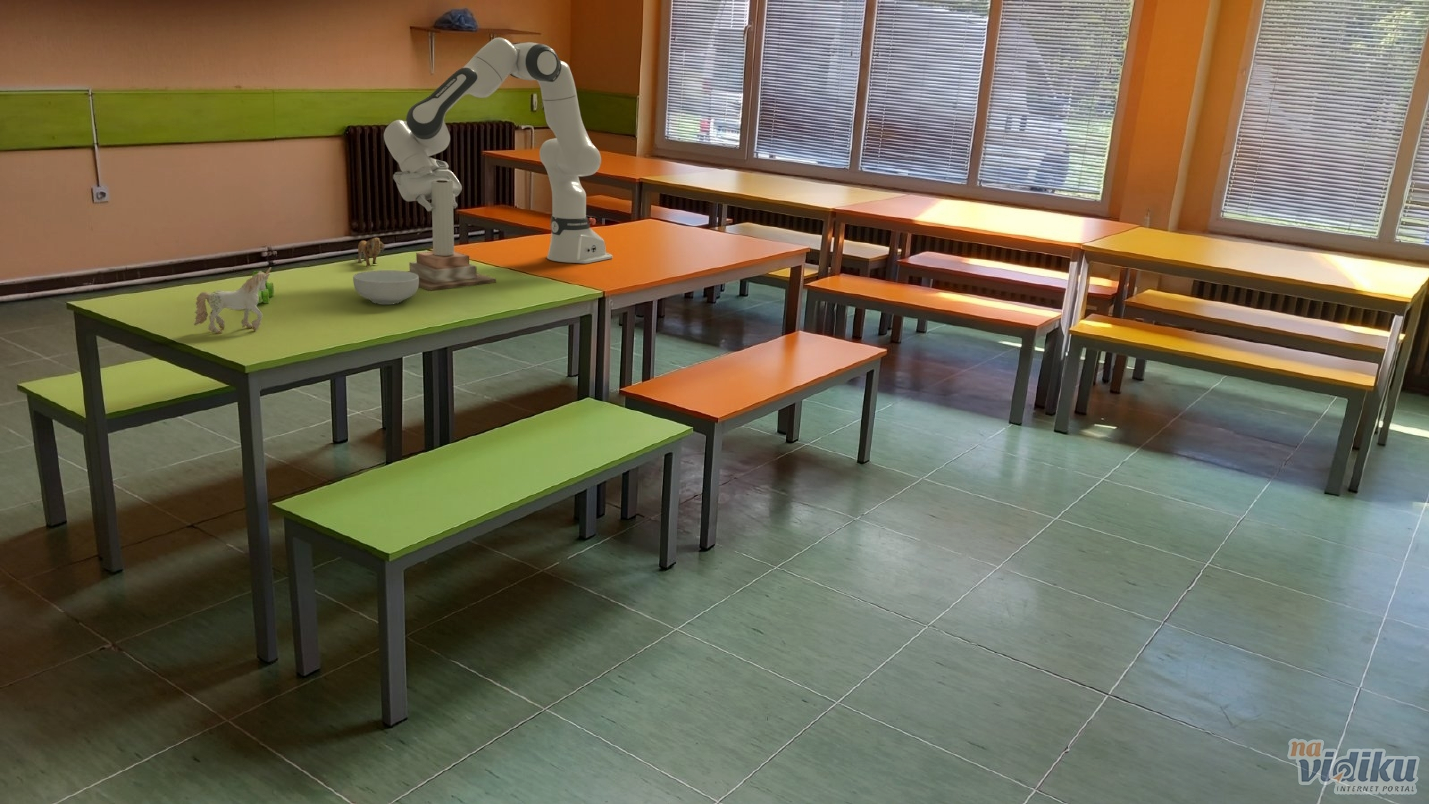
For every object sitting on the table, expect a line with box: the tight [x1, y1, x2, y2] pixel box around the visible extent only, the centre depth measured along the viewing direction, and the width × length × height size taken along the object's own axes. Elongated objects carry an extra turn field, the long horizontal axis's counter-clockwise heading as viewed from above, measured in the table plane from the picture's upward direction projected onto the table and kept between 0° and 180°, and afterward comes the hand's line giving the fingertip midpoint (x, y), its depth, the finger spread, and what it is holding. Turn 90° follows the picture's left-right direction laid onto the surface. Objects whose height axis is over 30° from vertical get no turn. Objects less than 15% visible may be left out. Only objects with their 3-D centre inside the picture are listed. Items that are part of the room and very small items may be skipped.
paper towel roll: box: [431, 180, 455, 256], centre depth 306 cm, size 7×6×21 cm
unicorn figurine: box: [193, 266, 272, 335], centre depth 246 cm, size 7×20×13 cm, turn 137°
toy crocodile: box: [251, 270, 275, 304], centre depth 275 cm, size 20×7×6 cm, turn 14°
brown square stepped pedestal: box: [406, 250, 497, 291], centre depth 311 cm, size 22×22×8 cm
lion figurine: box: [355, 237, 386, 267], centre depth 325 cm, size 15×5×9 cm, turn 48°
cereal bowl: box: [352, 269, 419, 305], centre depth 282 cm, size 17×17×7 cm
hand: (443, 208), depth 305 cm, fingers open, 7 cm apart
